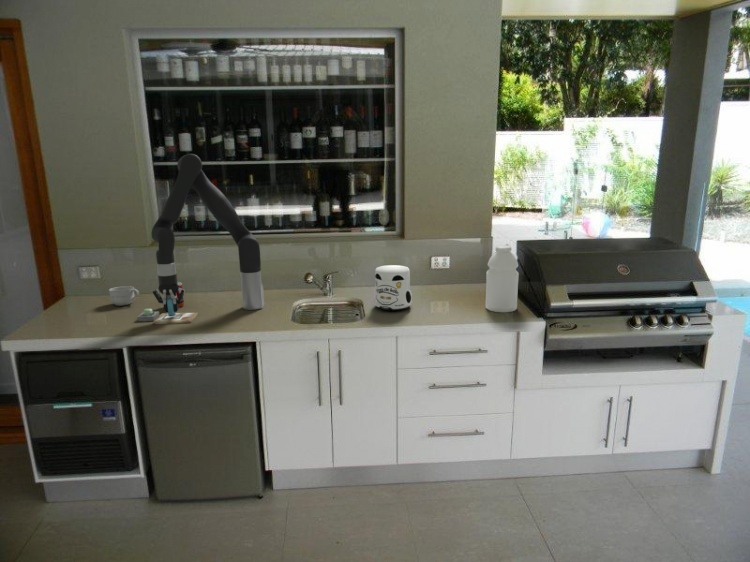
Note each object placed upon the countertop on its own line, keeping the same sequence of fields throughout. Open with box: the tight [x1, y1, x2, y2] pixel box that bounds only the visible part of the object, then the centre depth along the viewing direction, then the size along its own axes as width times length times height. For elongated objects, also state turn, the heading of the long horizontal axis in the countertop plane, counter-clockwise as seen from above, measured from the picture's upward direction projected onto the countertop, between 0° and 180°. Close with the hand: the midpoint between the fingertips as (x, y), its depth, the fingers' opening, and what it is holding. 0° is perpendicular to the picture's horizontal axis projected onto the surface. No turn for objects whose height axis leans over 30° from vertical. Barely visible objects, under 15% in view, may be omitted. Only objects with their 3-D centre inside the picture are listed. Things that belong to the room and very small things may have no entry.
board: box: [152, 312, 199, 325], centre depth 243 cm, size 16×12×1 cm
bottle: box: [484, 244, 520, 313], centre depth 246 cm, size 14×14×28 cm
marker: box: [166, 295, 177, 316], centre depth 240 cm, size 3×3×9 cm
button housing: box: [136, 310, 161, 322], centre depth 244 cm, size 7×7×2 cm
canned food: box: [176, 281, 185, 309], centre depth 260 cm, size 8×8×11 cm
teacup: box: [108, 285, 140, 306], centre depth 265 cm, size 14×11×8 cm
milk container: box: [373, 264, 413, 312], centre depth 251 cm, size 17×17×18 cm
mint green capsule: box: [142, 308, 154, 316], centre depth 244 cm, size 4×4×3 cm
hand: (171, 311), depth 241 cm, fingers closed on marker, 3 cm apart
